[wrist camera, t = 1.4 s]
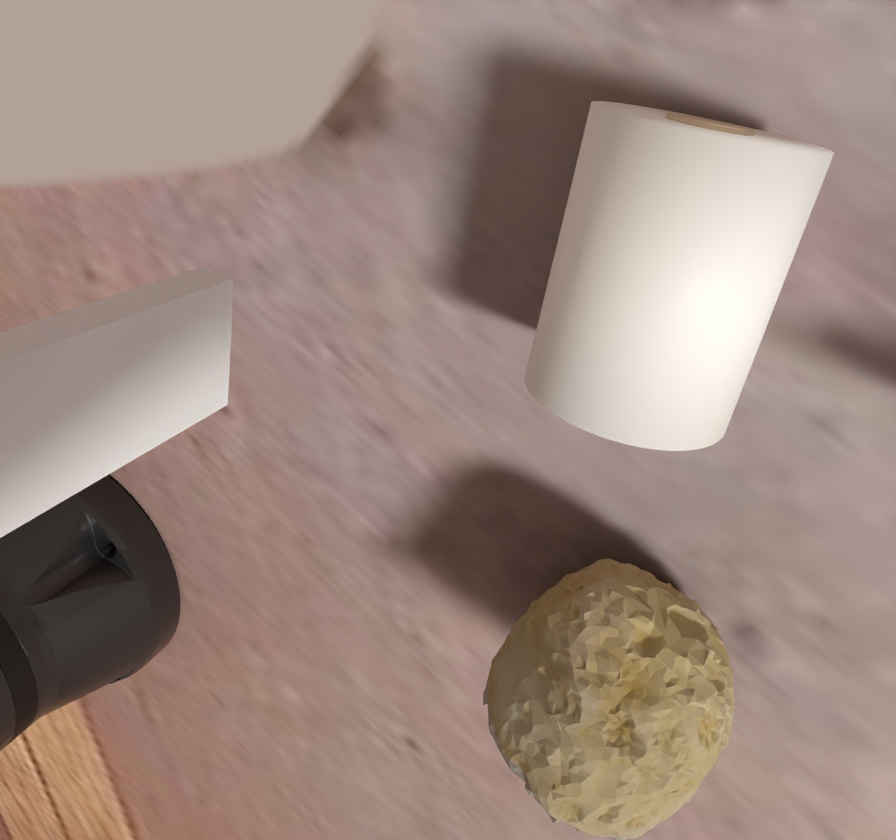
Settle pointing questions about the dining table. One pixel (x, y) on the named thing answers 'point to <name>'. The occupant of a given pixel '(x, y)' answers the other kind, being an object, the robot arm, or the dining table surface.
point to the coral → (611, 699)
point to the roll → (667, 272)
